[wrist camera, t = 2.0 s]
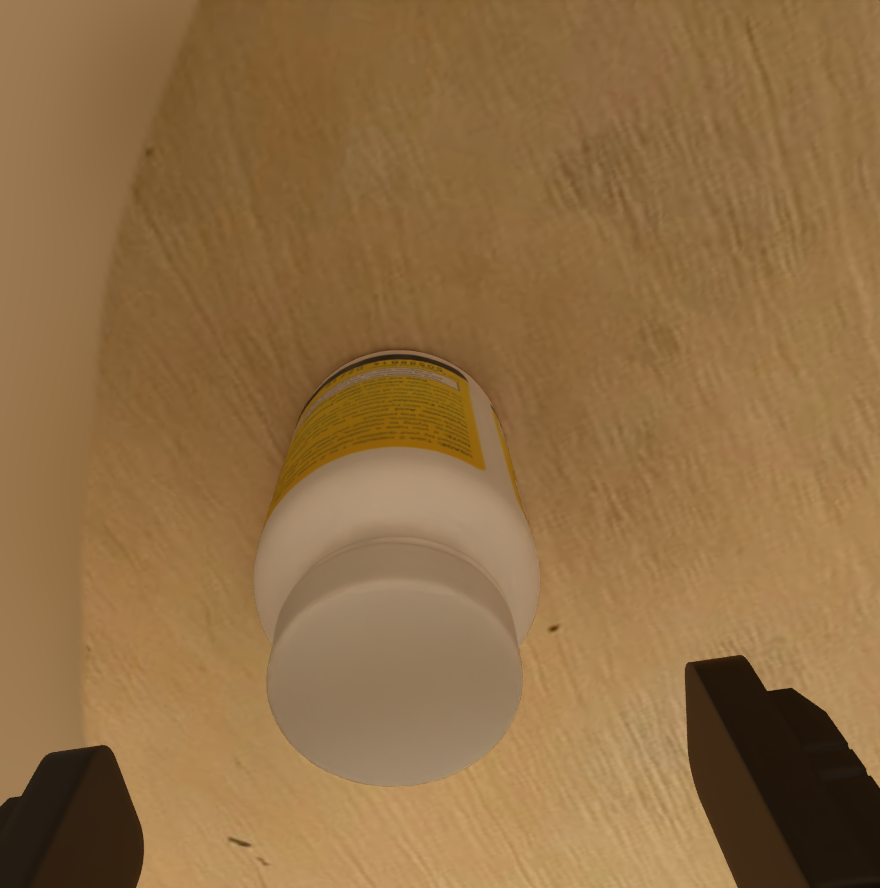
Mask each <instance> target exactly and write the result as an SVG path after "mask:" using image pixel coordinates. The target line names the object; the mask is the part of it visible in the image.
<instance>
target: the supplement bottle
mask: <svg viewBox="0 0 880 888" xmlns="http://www.w3.org/2000/svg"><path fill="white" fill-rule="evenodd" d="M253 590H254V597H255V603H256V609H257V612H258V616H259V619H260V622H261V625H262V627H263V630H264V632H265V634H266V635H267V637H268V640H269V641H270V643H271V645H272V650H271V654H270V659H269V663H268V668H267V695H268V700H269V704H270V708H271V711H272V714H273V716H274V719H275V721H276V723H277V725H278V726H279V728H280V730H281V732H282V733H283V734H284V736H285V737H286V739H287V740H288V741H289V743H290V744H291V745H292V746H293V747H294V748H295V749H296V750H297V751H298V752H299V753H300V754H301V755H303V756H304V757H305V758H306V759H308V760H309V761H310V762H312V763H313V764H314V765H316V766H318V767H320V768H322V769H323V770H325V771H327V772H329V773H331V774H334V775H336V776H339V777H341V778H344V779H347V780H350V781H354V782H357V783H361V784H367V785H375V786H385V787H399V786H414V785H419V784H425V783H429V782H433V781H437V780H440V779H443V778H445V777H448V776H451V775H453V774H455V773H457V772H459V771H461V770H463V769H465V768H467V767H469V766H470V765H472V764H473V763H475V762H476V761H478V760H479V759H481V758H482V757H483V756H485V755H486V754H487V753H488V752H489V751H491V750H492V749H493V748H494V747H495V745H496V744H497V743H498V742H499V741H500V740H501V739H502V737H503V736H504V734H505V733H506V732H507V730H508V729H509V727H510V725H511V723H512V721H513V719H514V716H515V714H516V712H517V710H518V706H519V703H520V699H521V692H522V684H523V671H522V662H521V657H520V652H519V647H520V645H521V644H522V642H523V640H524V639H525V637H526V635H527V634H528V631H529V629H530V627H531V624H532V622H533V619H534V616H535V613H536V609H537V606H538V600H539V593H540V565H539V560H538V555H537V550H536V545H535V541H534V537H533V533H532V530H531V527H530V524H529V520H528V517H527V513H526V511H525V508H524V504H523V500H522V497H521V493H520V489H519V486H518V483H517V480H516V475H515V471H514V469H513V466H512V461H511V458H510V454H509V451H508V447H507V444H506V441H505V437H504V434H503V431H502V427H501V424H500V421H499V419H498V416H497V414H496V411H495V409H494V407H493V405H492V403H491V402H490V400H489V398H488V396H487V395H486V394H485V392H484V391H483V390H482V388H481V387H480V386H479V385H478V384H477V382H476V381H474V380H473V379H472V378H471V377H470V376H469V375H468V374H467V373H465V372H464V371H463V370H461V369H460V368H458V367H457V366H455V365H453V364H452V363H450V362H448V361H446V360H443V359H441V358H439V357H436V356H433V355H430V354H426V353H422V352H416V351H409V350H391V351H382V352H377V353H373V354H369V355H366V356H363V357H360V358H357V359H355V360H353V361H351V362H349V363H347V364H345V365H343V366H342V367H340V368H339V369H337V370H336V371H335V372H333V373H332V374H331V375H330V376H328V377H327V378H326V379H325V380H324V381H323V382H322V383H321V384H320V386H319V387H318V388H317V389H316V390H315V391H314V393H313V394H312V396H311V397H310V399H309V400H308V402H307V404H306V405H305V407H304V409H303V411H302V413H301V415H300V417H299V419H298V422H297V425H296V427H295V431H294V434H293V437H292V440H291V443H290V446H289V450H288V453H287V456H286V459H285V462H284V465H283V468H282V471H281V474H280V477H279V480H278V483H277V486H276V489H275V492H274V495H273V498H272V501H271V504H270V507H269V511H268V514H267V517H266V520H265V523H264V526H263V530H262V533H261V536H260V540H259V543H258V547H257V553H256V559H255V565H254V573H253Z"/></svg>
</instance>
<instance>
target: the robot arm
mask: <svg viewBox="0 0 880 888" xmlns="http://www.w3.org/2000/svg"><path fill="white" fill-rule="evenodd" d="M685 691H686V716H687V742H688V756H689V762H690V768H691V772H692V777H693V780H694V784H695V787H696V790H697V793H698V796H699V799H700V801H701V803H702V806H703V808H704V810H705V813H706V815H707V817H708V820H709V822H710V824H711V827H712V829H713V831H714V834H715V836H716V838H717V840H718V843H719V845H720V847H721V850H722V852H723V854H724V857H725V859H726V861H727V864H728V866H729V868H730V871H731V873H732V875H733V878H734V880H735V882H736V884H737V887H738V888H880V788H879V787H878V785H877V784H876V782H875V781H874V779H873V778H872V777H871V776H868V775H867V772H866V768H865V767H864V765H863V764H862V762H861V761H860V760H859V758H858V757H857V755H856V754H855V753H854V751H853V750H852V749H849V747H848V743H847V741H846V740H845V738H844V737H843V736H842V734H841V733H840V731H839V730H838V729H837V727H836V726H835V724H834V723H833V721H832V720H831V719H830V717H829V716H828V714H827V713H826V712H825V711H824V710H822V709H821V708H819V707H818V706H817V705H815V704H814V703H812V702H811V701H810V700H808V699H807V698H805V697H804V696H802V695H801V694H800V693H798V692H797V691H795V690H794V689H793V688H787V689H780V690H773V691H767V690H766V689H765V687H764V685H763V684H762V682H761V681H760V679H759V677H758V676H757V674H756V673H755V671H754V669H753V668H752V666H751V665H750V663H749V662H748V660H747V659H746V658H745V657H744V656H742V655H737V656H730V657H723V658H716V659H709V660H702V661H695V662H688V663H687V664H686V668H685ZM143 856H144V840H143V832H142V828H141V824H140V821H139V819H138V816H137V813H136V811H135V808H134V806H133V803H132V800H131V798H130V795H129V792H128V790H127V787H126V784H125V782H124V779H123V776H122V774H121V771H120V768H119V766H118V763H117V760H116V758H115V756H114V753H113V752H112V750H111V749H110V748H109V747H108V746H106V745H100V746H93V747H87V748H80V749H73V750H66V751H59V752H52V753H49V754H48V755H46V756H45V757H44V758H43V759H42V761H41V762H40V764H39V766H38V767H37V769H36V771H35V773H34V775H33V776H32V778H31V780H30V782H29V784H28V785H27V787H26V789H25V790H24V792H23V794H22V796H20V797H14V798H9V799H8V800H7V801H6V802H5V803H3V805H2V806H0V888H136V886H137V883H138V880H139V877H140V874H141V870H142V865H143Z"/></svg>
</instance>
